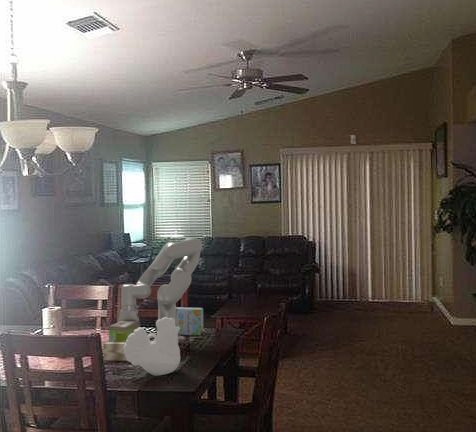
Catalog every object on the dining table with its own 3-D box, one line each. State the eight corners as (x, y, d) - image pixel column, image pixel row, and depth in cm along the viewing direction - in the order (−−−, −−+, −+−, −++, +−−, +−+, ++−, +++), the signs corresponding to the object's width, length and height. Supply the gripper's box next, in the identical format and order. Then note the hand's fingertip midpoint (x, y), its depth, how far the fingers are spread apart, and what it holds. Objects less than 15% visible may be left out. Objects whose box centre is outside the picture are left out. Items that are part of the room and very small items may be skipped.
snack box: (203, 333, 335) (203, 307, 334) (200, 335, 329) (200, 309, 329) (169, 332, 339) (168, 306, 339) (165, 334, 334) (165, 308, 334)
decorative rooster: (179, 366, 266) (179, 313, 266) (181, 377, 251) (181, 319, 250) (124, 369, 262) (123, 315, 262) (123, 380, 247) (122, 322, 246)
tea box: (127, 356, 285) (127, 326, 285) (108, 355, 287) (107, 325, 287) (138, 349, 300) (138, 320, 300) (120, 348, 302) (120, 319, 302)
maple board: (129, 358, 281) (129, 342, 281) (128, 360, 278) (127, 343, 278) (105, 358, 282) (104, 342, 281) (103, 360, 279) (103, 343, 278)
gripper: (144, 306, 308) (144, 341, 308) (116, 306, 309) (116, 340, 309) (141, 309, 301) (141, 344, 301) (112, 308, 302) (112, 343, 302)
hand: (128, 342), depth 305 cm, fingers closed
